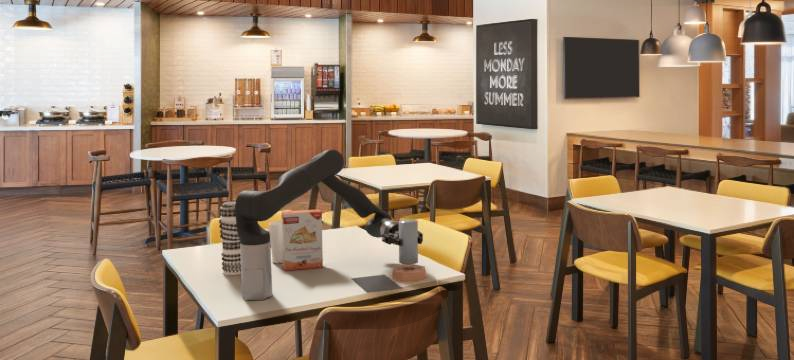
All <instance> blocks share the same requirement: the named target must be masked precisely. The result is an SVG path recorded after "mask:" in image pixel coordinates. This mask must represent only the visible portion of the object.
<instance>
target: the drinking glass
mask: <svg viewBox="0 0 794 360" xmlns="http://www.w3.org/2000/svg"><path fill="white" fill-rule="evenodd" d="M268 226H269V227H268V229H269V234H270V243H271V244H270V247H271V262H272V263H273V264H283V247H282V220H280V221H279V220H278V221H270V222H269V224H268Z"/></svg>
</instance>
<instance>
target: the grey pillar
mask: <svg viewBox="0 0 794 360" xmlns="http://www.w3.org/2000/svg"><path fill="white" fill-rule="evenodd" d="M418 222H419V221H418V220H417V219H401V220H398V223H399V238H400V239H402V246H399V245H398V263H399V264H400V265H405V264H416V265H417V264H418V263H419V244H418V231H419V230H418V229H419V225H418V224H419V223H418Z"/></svg>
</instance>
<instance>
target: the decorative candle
mask: <svg viewBox="0 0 794 360" xmlns="http://www.w3.org/2000/svg"><path fill="white" fill-rule="evenodd" d="M235 202H236V201H227V202H223V203H222V204H221V206H220V207H219V209H220V219H219V220H218V224H219V226H218V227H219V228H220V230H219V233H220V235H219V236H220V241H221V243H222V244H221V246H222V248H221V251H222V253H221V254H220V255H221V261H222V262H221V269H222V272H221V273H222V274H223V275H225V276H226V275H227V276H234V275H241V255H240V238H239V236H238V233H237V225H236V216H235Z"/></svg>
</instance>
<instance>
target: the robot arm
mask: <svg viewBox="0 0 794 360" xmlns="http://www.w3.org/2000/svg"><path fill="white" fill-rule="evenodd" d="M344 164H345V160H344V156H343V154H342V153H341V152H340V151H338V150H336V149H331V148H330V149H326V150H324V151H322V152H320V153H318V154H317V155H314V156H313V157H311V159H310V161H309V162H306V163H303V164H300V165H298V166H297V167H294V168H292V169H290V170H288V171H287V172H284V173H283V174H281V176H279V178H278V180H277V182H276V186H274V187H273V188H271V189H269V190H268V189H267V190H264V191H262V190H242V191H241V192H239V193H238V194H237V197H236V198H235V201H234V202H235V216H236V225H237V233H238V236H239V238H240V255H241V274H240V275H241V276H240V277H241V293H242V295H241V297H242V298H243V299H244V301H264V300H265V301H266V299H268V297H269V298H270V297H272V296H273V280H272V279H273V278H272V276H273V275H272V250H271V244H270V234H269V232H268V231H266V230H265V229H266V228H263V227H262V226H261V225H260V224H259V222H265V221H268V220H269V219H271V218H272V217H273V216H275V215H276V214H277V213H278V212H280V210H282V209H283V208H284V207H285V206H287V205H289V204H290V203H292V202H294V201H295V200H297V199H298V198H300V197H301V196H303V195H304V194H306V193H308V192H309V191H310V190H312V189H314V187H316V186H317V185H319V184H320V183H322V184H324V185H325V186H326V187H328V188H329V189H330V190H331V191H333V192H334V193H335V194H336V195H337V196H339V197H340V198H341V199H342V200H343V201H345V203H347V205H348V206H349V207H350V208H351V209H352V210H353V211H354V212H355V213H356V214H357V215H358V217H360V218H361V219H365V218H367V217H369V216H371V215H372V214H374V215H373V216H372V217H371V218H370V219H368V221H366V223H365V231H366V233H367V234H368V235H369V236H371V237H374V238H377V239H379V238H380V239H381V242H383V243H385V244H387V245H392V244H393V245H395V246H398V247H399V246H402V239H400V238H399V221H398V222H397V221H396V220H393V219H392V218H393V217H392V216H391V214H390V213H388V212H386V211H385V210H383V209H381V208H380V207H378V206H377V205H375V203H374V202H373V201H372V200H371V199H370V198H369V197H368V196H367V195H366V193H364V192H363V191H362V190H360V189H359V188H357V187H355V186H353V185H351V184H349V183H347V182H345V181H343V180H341V179H340V178H338V176H336V174H339V173H340V172H341V171H342V170H343V169H344V166H345V165H344ZM423 235H424V234H423V233H422V232H421V231H419V230H418V245H422V243H423V241H424V238H423V237H424V236H423Z"/></svg>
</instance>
